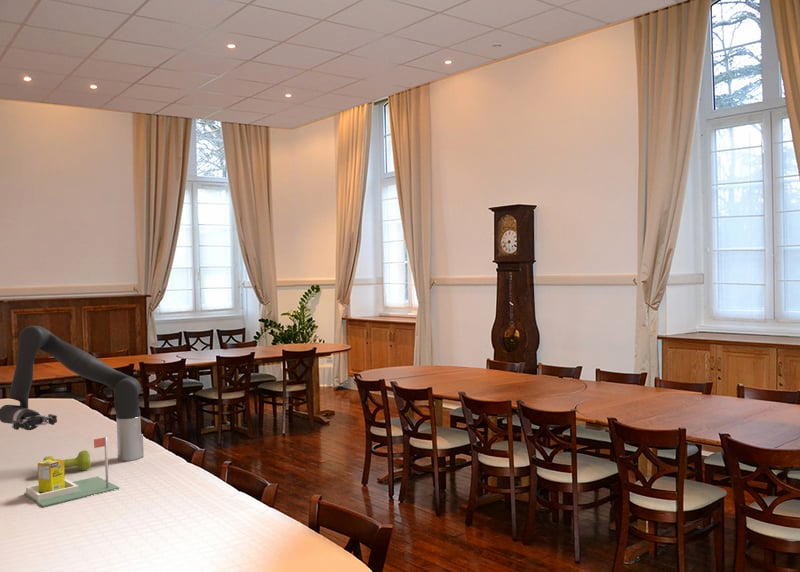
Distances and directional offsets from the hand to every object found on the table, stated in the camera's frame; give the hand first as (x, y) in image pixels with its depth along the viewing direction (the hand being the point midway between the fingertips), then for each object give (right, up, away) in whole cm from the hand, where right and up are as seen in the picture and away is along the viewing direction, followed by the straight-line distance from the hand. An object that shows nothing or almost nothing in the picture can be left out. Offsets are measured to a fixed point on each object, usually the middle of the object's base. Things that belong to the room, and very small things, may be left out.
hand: (41, 424), depth 248 cm
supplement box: (+10, -22, -12) cm, 27 cm away
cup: (+16, -22, -10) cm, 29 cm away
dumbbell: (+2, -22, +15) cm, 26 cm away
